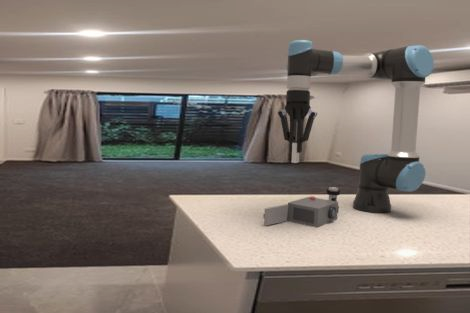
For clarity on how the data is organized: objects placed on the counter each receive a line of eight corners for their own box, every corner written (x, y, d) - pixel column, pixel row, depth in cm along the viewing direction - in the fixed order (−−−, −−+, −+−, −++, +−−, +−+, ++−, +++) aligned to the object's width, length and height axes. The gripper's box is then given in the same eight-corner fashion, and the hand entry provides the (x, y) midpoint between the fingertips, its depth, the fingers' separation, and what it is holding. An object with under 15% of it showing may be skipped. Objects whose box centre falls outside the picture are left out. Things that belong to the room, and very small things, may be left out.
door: (288, 220, 142) (289, 204, 141) (266, 225, 134) (267, 209, 133) (284, 219, 143) (285, 203, 143) (262, 224, 135) (263, 208, 135)
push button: (329, 215, 154) (331, 189, 152) (319, 212, 158) (321, 187, 157) (341, 213, 157) (343, 188, 156) (331, 210, 162) (333, 186, 161)
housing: (308, 213, 156) (309, 194, 155) (340, 219, 147) (341, 200, 147) (286, 220, 143) (287, 200, 142) (320, 228, 135) (321, 207, 134)
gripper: (321, 90, 129) (318, 163, 132) (284, 90, 136) (281, 159, 138) (313, 89, 123) (310, 165, 125) (275, 89, 129) (272, 161, 132)
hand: (295, 162), depth 132 cm, fingers closed
